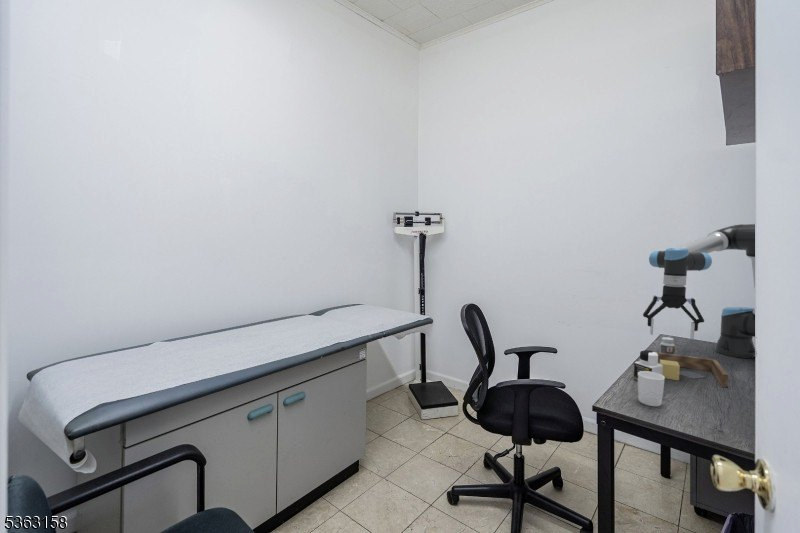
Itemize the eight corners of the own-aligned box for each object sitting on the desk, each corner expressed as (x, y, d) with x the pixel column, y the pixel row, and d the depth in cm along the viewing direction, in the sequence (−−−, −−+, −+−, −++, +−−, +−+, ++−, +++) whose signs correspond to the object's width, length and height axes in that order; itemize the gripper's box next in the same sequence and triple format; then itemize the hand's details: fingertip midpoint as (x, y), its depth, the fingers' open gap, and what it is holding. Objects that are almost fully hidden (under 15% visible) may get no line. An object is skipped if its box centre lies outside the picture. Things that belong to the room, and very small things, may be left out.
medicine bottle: (633, 378, 151) (634, 350, 150) (644, 375, 154) (645, 348, 152) (651, 385, 144) (652, 355, 143) (662, 382, 147) (664, 353, 146)
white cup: (654, 409, 124) (655, 381, 124) (631, 399, 132) (632, 373, 131) (668, 404, 128) (669, 377, 127) (645, 395, 135) (646, 369, 134)
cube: (676, 375, 154) (677, 361, 153) (678, 380, 148) (679, 366, 148) (659, 373, 157) (660, 359, 156) (661, 377, 152) (661, 363, 151)
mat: (703, 373, 156) (703, 372, 156) (708, 381, 147) (708, 381, 147) (673, 369, 161) (673, 368, 161) (677, 376, 152) (677, 376, 152)
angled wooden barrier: (714, 370, 158) (715, 359, 158) (727, 387, 141) (728, 375, 141) (653, 362, 169) (653, 351, 169) (658, 377, 152) (658, 365, 152)
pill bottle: (676, 361, 171) (678, 340, 170) (663, 360, 172) (664, 339, 171) (670, 357, 176) (671, 337, 175) (657, 356, 177) (658, 336, 176)
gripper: (638, 284, 152) (636, 334, 154) (716, 288, 140) (712, 342, 142) (637, 282, 159) (635, 330, 161) (711, 286, 146) (707, 338, 148)
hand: (671, 336), depth 151 cm, fingers open, 13 cm apart
